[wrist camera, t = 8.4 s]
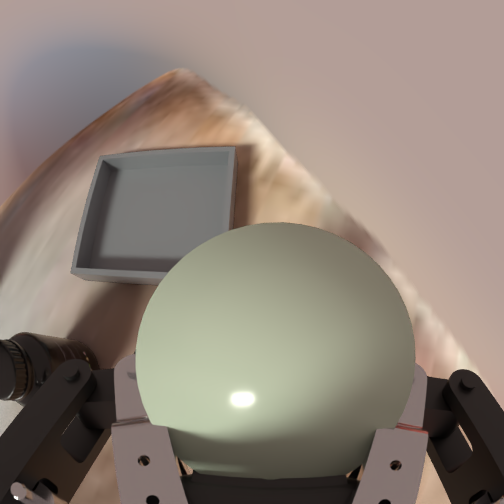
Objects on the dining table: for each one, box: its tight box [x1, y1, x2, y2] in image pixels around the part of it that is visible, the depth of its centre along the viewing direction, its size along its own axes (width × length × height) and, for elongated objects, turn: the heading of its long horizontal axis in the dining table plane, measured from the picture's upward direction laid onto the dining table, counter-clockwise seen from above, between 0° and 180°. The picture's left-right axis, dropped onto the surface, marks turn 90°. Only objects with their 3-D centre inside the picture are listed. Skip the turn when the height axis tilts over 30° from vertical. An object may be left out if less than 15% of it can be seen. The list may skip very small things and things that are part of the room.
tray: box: [71, 147, 238, 285], centre depth 30 cm, size 16×14×3 cm
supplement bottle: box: [0, 332, 99, 407], centre depth 21 cm, size 7×7×12 cm
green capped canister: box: [136, 222, 415, 480], centre depth 10 cm, size 6×6×10 cm
